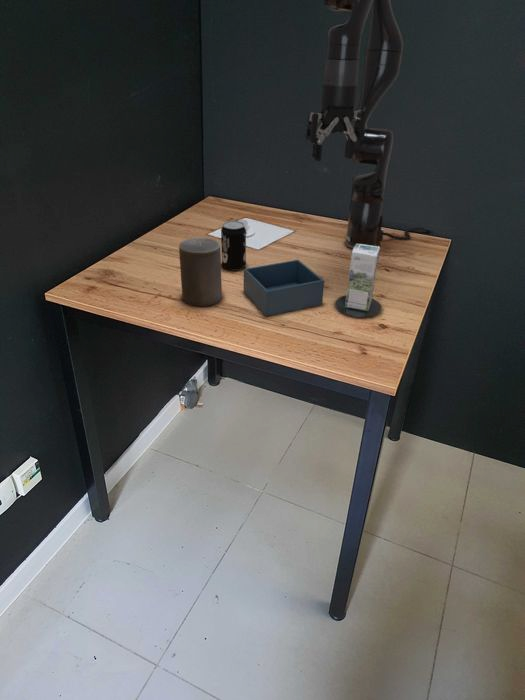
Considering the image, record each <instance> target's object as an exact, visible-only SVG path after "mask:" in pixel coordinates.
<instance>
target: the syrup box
mask: <svg viewBox="0 0 525 700" xmlns="http://www.w3.org/2000/svg"><path fill="white" fill-rule="evenodd" d="M380 252H381V246H371V245H364V244H357V243H356V245H355V246H354V248H353V249H352V251H351V255H350V256H351V257H350V264H349V271H348V272H349V273H348V279H347V287H346V294H345V296H346V302H345V307H346V308H352V309H357V310H363V311H368V310H369V307H370V304H371V301H372V299H373V293H374V287H375V281H376V276H377V270H378V269H377V268H378V263H379V258H380Z"/></svg>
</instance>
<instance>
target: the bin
mask: <svg viewBox="0 0 525 700" xmlns="http://www.w3.org/2000/svg"><path fill="white" fill-rule="evenodd" d="M324 289H325V279H323V278H322V277H320V275H318V274H317V273H315V272H314V271H313V270H312V269H311V268H310V267H308V265H306V264H304V263H303V262H302V261H301V260H299V259H294V260H287V261H281V262H276V263H270V264H264V265H259V266H253V267H247V268H243V293H244V294H245V296H246V297H247V298H248V299H249V300H250V301H251V302H252V303H253V304H254V305H255V306H256V307H257V308H258V310H259V311H260V312H261V314H263V315H264V316H265V317H270V316H274V315H278V314H283V313H287V312H293V311H298V310H302V309H307V308H311V307H315V306H321V305H323V301H324V300H323V299H324Z"/></svg>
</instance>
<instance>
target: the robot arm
mask: <svg viewBox="0 0 525 700" xmlns="http://www.w3.org/2000/svg"><path fill="white" fill-rule="evenodd" d="M322 1H323V3H324V5H325V6H326V8H327V9H329V10H331V11H333V12H351V13H350V16H349V17H348V19H347V21H346V22H345V23H341V24H337V25H334V26H332V27H331V28H329V30H328V34H327V43H326V56H325V57H326V58H325V62H324V63H325V64H324V68H323V78H322V91H321V111H320V112H313V111H309V112H308V114H307V121H306V122H307V123H306V130H305V131H306V132H305V140H306V141H308V142H310V143H312V154H311V156H312V158H313V160H314V161H316V162H321V161H322V154H323V142H324V141H325V139H326V138H327V137H329V136H330V134H336V133H343V134H344V135H345V137H346V139H347V140H346V141H345V148H344V158H345V159H349V160H352V162H353V163H355V164H363V165H373V166H376V168H375V169H373V170H371V171H369V172H366V173H362V174H358V175H356V176H355V177H354V178H353V180H352V186H351V196H350V203H349V211H348V212H349V213H348V220H347V229H346V233H345V234H344V239H345V241H344V242H345V243H344V244H345V246H346V247H347V248H350V249H352V250H353V248H354V246H355V245H356V243H357V244H364V245H371V246H378V247H380V242H383V238H384V236H385V237H389V238H391V239H394V240H395V239H396V240H401V241H402V240H403V241H404V240H410V238H411V234H410V233H409V232H412V231H413V232H414V231H418V230H419V231H420V230H421V231H426V232H427V233H428V234H431V233H432V232H431V230H430V229H429V230H425V229H424V228H425V227H424V228H422V227H423V226H417V227H411V228H407V229H405V230H404V235H406V236H397V235H394V234H391V233H389V232H384V230H382V226H383V221H384V215H383V214H382V209H383V202H384V196H385V190H386V183H387V177H388V170H389V164H390V160H391V155H392V150H393V145H394V132H393V131H392V130H390V129H386V128H385V129H384V128H375V127H368V125H369V122H370V119H371V116H372V114H373V112H374V111H375V109H376V108H377V106H378V104H379V102H381V100H382V99H383V97H384V96H385V95H386V93H387V92H388V91H389V90H390V88H391V87H392V86H393V84H394V83H395V81H396V79H398V76H399V73H400V68H401V63H402V57H403V50H404V41H403V37H402V33H401V31H400V28H399V26H398V23H397V20H396V18H395V15H394V12H393V8H392V3H391V0H322ZM370 12H371V13H370ZM369 14H370V21H369V28H368V35H367V40H366V47H365V54H364V61H363V69H362V80H361V87H360V97H359V104H358V109H355V110H354V107H355V106H356V100H357V91H358V81H359V73H360V70H359V69H360V53H361V44H362V37H363V33H364V29H365V27H366V23H367V20H368V17H369ZM353 120H354V123H353V125H352V124H351V123H352V121H353ZM320 121H321V123H320ZM319 123H320V125H318V124H319Z"/></svg>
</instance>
